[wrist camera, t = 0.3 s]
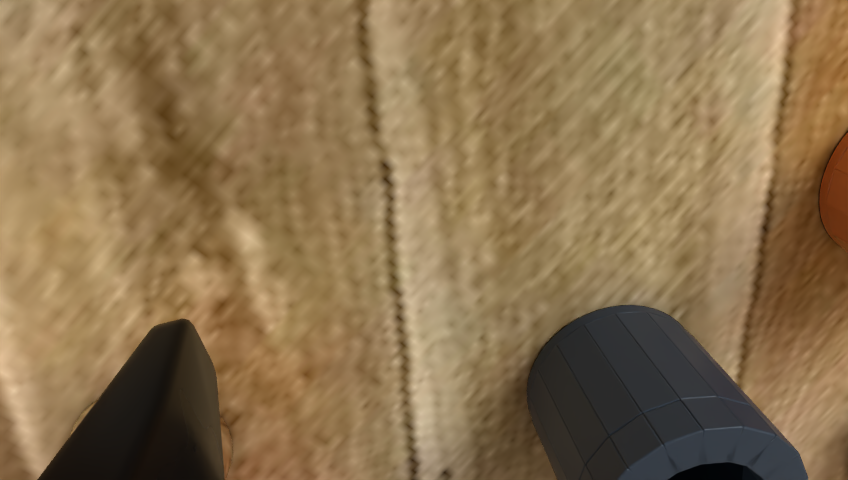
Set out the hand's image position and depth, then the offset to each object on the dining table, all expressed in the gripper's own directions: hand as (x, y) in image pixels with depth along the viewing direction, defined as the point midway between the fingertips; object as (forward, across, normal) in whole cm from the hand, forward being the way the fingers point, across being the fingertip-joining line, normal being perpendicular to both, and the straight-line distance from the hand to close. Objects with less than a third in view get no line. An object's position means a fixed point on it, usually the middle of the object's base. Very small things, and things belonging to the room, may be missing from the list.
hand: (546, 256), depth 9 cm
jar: (+11, -6, +18) cm, 22 cm away
